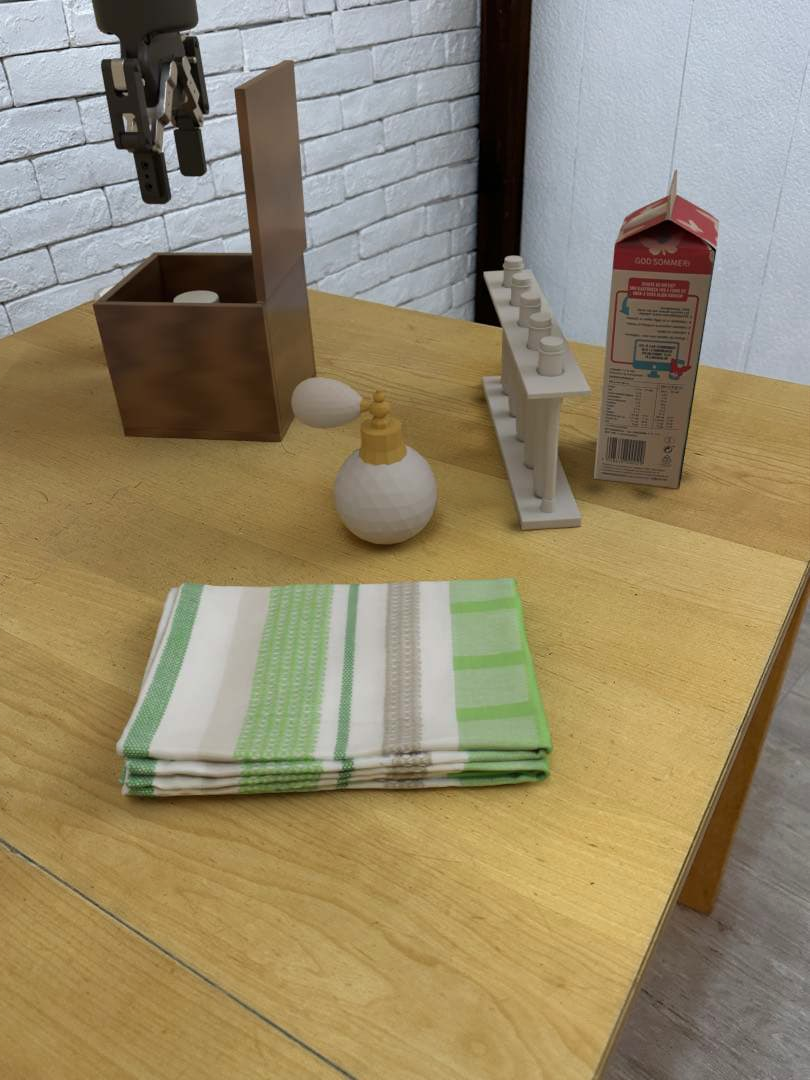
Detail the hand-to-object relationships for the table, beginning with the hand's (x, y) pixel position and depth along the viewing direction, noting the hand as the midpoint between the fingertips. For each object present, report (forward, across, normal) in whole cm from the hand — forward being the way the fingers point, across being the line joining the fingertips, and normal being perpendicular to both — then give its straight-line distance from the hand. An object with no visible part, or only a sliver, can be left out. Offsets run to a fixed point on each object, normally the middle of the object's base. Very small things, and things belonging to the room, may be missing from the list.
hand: (176, 188), depth 75 cm
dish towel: (+20, +36, +20) cm, 46 cm away
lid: (-1, 0, +8) cm, 8 cm away
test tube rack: (+20, +6, +30) cm, 36 cm away
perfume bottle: (+20, +20, +19) cm, 34 cm away
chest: (+20, 0, +1) cm, 20 cm away
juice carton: (+20, +8, +39) cm, 45 cm away
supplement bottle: (+19, 0, 0) cm, 19 cm away
